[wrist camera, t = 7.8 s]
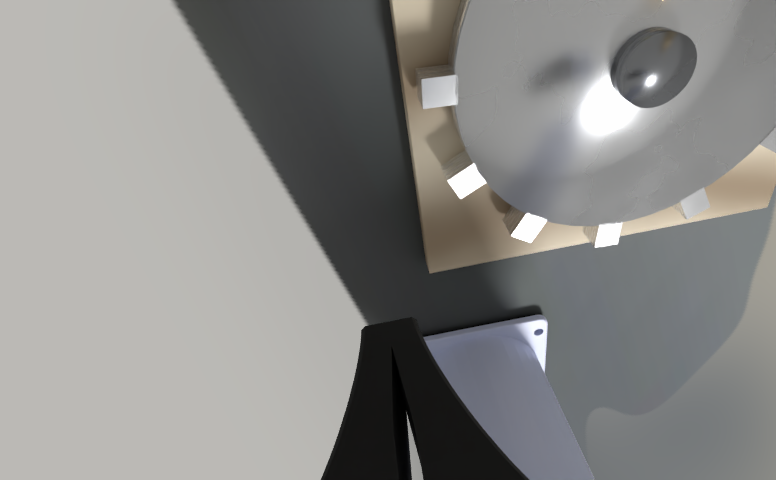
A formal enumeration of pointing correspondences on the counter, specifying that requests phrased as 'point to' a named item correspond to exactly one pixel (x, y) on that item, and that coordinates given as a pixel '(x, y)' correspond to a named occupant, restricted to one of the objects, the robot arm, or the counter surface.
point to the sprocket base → (483, 206)
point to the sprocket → (604, 105)
